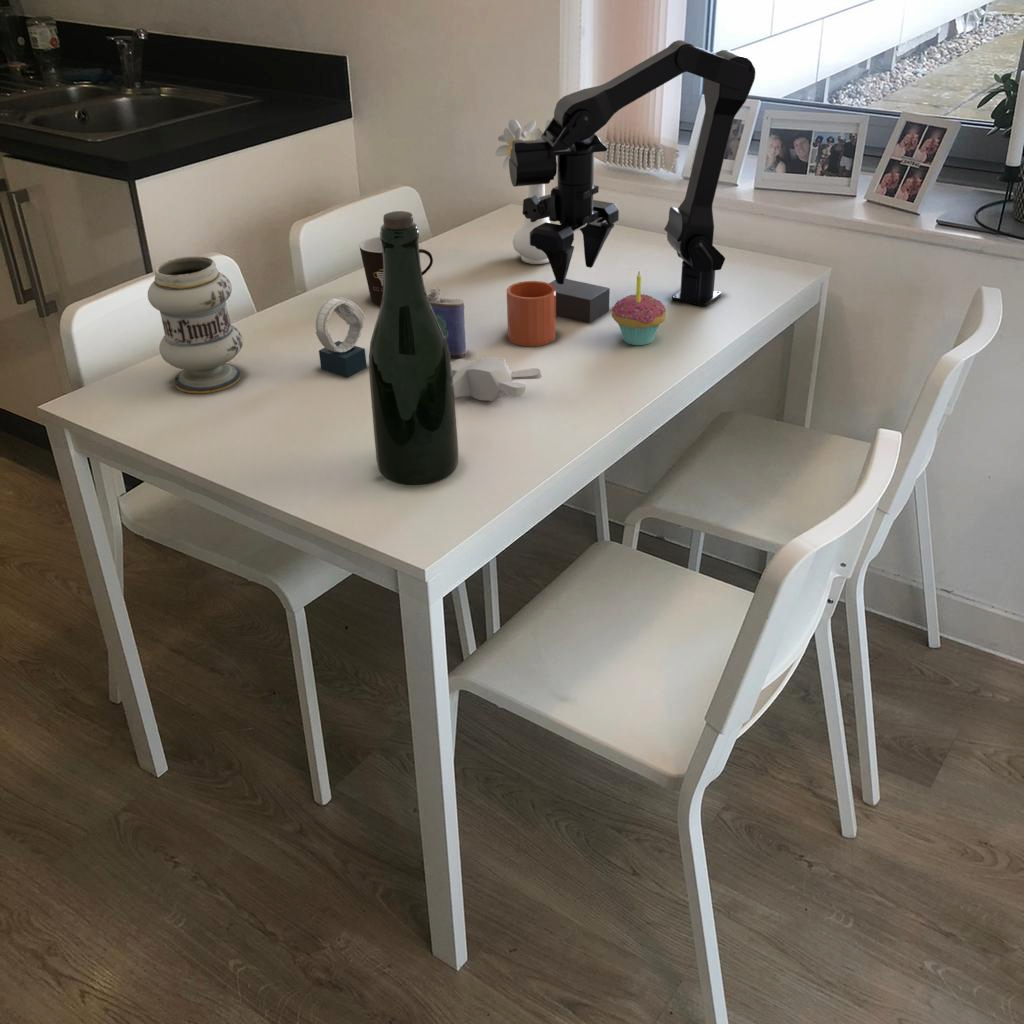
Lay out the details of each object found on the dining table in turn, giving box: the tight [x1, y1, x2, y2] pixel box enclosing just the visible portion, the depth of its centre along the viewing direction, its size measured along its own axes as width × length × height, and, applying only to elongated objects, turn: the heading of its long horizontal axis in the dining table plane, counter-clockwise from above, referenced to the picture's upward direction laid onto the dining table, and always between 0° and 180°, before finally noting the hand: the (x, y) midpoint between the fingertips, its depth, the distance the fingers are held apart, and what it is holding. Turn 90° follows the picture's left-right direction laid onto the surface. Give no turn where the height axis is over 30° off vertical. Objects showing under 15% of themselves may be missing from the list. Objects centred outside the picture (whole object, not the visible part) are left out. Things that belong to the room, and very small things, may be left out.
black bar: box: [548, 278, 611, 324], centre depth 181 cm, size 6×10×4 cm, turn 55°
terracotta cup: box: [506, 280, 557, 347], centre depth 171 cm, size 8×8×8 cm
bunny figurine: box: [451, 356, 543, 402], centre depth 155 cm, size 10×5×15 cm
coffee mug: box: [358, 236, 434, 307], centre depth 185 cm, size 12×9×10 cm
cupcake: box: [611, 271, 667, 346], centre depth 168 cm, size 9×8×12 cm
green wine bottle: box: [368, 210, 459, 487], centre depth 129 cm, size 10×10×33 cm
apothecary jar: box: [147, 255, 244, 395], centre depth 158 cm, size 12×12×18 cm
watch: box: [315, 296, 368, 378], centre depth 162 cm, size 6×8×11 cm
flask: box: [427, 286, 467, 359], centre depth 166 cm, size 9×3×11 cm, turn 68°
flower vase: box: [495, 118, 558, 265], centre depth 198 cm, size 13×18×25 cm
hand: (575, 275), depth 179 cm, fingers open, 9 cm apart
